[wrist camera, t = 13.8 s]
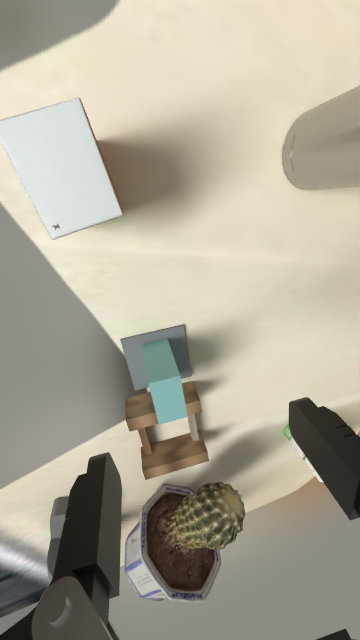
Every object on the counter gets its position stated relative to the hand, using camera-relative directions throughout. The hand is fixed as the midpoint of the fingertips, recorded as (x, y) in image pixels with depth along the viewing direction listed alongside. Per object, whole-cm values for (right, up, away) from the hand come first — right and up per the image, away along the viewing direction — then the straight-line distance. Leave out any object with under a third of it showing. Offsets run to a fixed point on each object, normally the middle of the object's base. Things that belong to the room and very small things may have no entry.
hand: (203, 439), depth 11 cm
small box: (-12, +21, +20) cm, 31 cm away
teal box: (-4, -1, +31) cm, 31 cm away
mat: (-5, -1, +31) cm, 32 cm away
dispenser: (-4, -14, +37) cm, 40 cm away
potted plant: (-2, -32, +46) cm, 56 cm away
